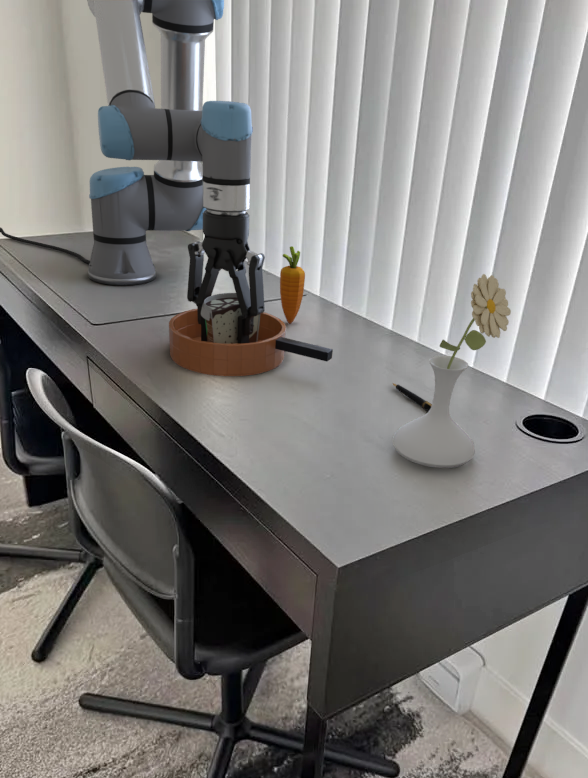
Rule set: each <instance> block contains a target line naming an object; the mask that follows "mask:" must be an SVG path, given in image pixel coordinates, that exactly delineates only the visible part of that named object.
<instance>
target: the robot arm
mask: <svg viewBox="0 0 588 778" xmlns="http://www.w3.org/2000/svg"><path fill="white" fill-rule="evenodd" d="M86 1H87V6H88V8H89V10H90V13H91V14H92V15H93V17H94V18H95V23H96V24H95V25H96V30H97V37H98V38H97V39H98V45H99V51H100V60H101V67H102V73H103V80H104V88H105V94H106V102H107V105H101V106H100V107H99V108H98V109H97V125H98V126H97V127H98V137H99V139H98V140H99V148H100V152H101V153H102V155H103V156H104V157H105V158H108V159H116V160H117V159H118V160H125V161H156V162H155V164H154V166H153V174H145V172H144V171H143V170H144V169H143V168H142V167H139V166H117V167H110V168H105V169H101V170H98V171H95V172H94V173H92V174H91V176H90V177H89V195H88V198H89V199H90V206H91V207H90V209H91V220H92V222H91V223H92V233H93V234H92V235H93V244H92V249H91V254H90V260H89V259H87V258H85V257H83V255H81V254H79V253H77V252H75V251H73V250H69V249H66V248H63V247H59V246H56V245H52V244H47V243H44V242H43V243H42V242H38V241H34V240H30V239H25V238H23V237H18V236H15V235H11V234H9V233H6V231H4V229H3V227H0V234H1V235H2V236H4V237H5V238H7V239H10V240H12V241H13V240H14V241H16V242H21V243H25V244H28V245H32V246H38V247H41V248H44V249H45V248H46V249H49V250H54V251H57V252H62V253H65V254H68V255H71V256H73V257H75V258H77V259H79V260H80V261H82V262H83V263H85V264H88V267H87V268H88V269H87V273H88V278H89V279H90V280H91V281H93V282H95V283H99V284H103V285H110V286H135V285H136V286H137V285H142V284H147V283H150V282H153V281H154V280H155V279H156V277H157V274H156V273H157V272H156V271H157V270H156V266H155V265H154V263H153V259H152V256H151V252H150V250H149V247H148V244H147V243H148V242H147V231H164V232H165V231H166V232H167V231H169V232H170V231H171V232H172V231H173V232H174V231H175V232H177V231H178V232H181V231H182V232H191V231H202V234H203V235H204V237H203V239H202V241H201V242H200V241H199V240H198V241H195V242H191V243H188V244H187V250H188V257H189V264H188V265H189V267H188V281H187V293H186V299H187V301H188V302H192V303H193V304H195V305H196V309H197V314H198V324H201V341H206V342H207V332H206V323H205V319H204V318H203V317H202V316H201V310H202V305H203V303H204V300H205V299H206V298H207V297H209V296H212V295H213V291H214V289H215V285H216V283H217V280H218V277H219V273H220V272H221V270H223V271H225V272H228V276H229V277H230V279H231V280H232V284H233V287H234V290H235V293H236V295H237V298H238V302H239V306H240V309H241V313H242V315H241V316H239V317H238V337H237V344H243V343H249V335H251V334H252V333H253V325H254V316H257V315H259V314H261V313H263V312H265V310H266V309H265V295H264V294H265V291H264V274H263V273H264V272H263V267H264V263H265V260H266V259H265V258H266V256H265V254H264V253H263V252H262V253H261V252H260V253H256V252H254V251H252V250H251V248H250V246H249V243H248V242H249V241H248V239H249V236H250V214H249V213H248V210H250V208H251V207H250V206H251V168H252V167H251V164H252V161H251V160H252V137H253V133H254V132H253V131H254V128H253V124H252V123H253V122H252V121H253V120H252V108H251V107H250V105H249V104H247V103H245V102H239V101H230V100H207V101H205V102H204V78H205V56H206V55H205V51H206V50H205V49H206V39H207V38H208V37H209V36H211V34H212V33H213V32H214V22H215V21H219V20H221V19H222V18H223V16H224V8H225V0H86ZM142 13H143V14H152V15H151V19H152V20H151V22H152V25H153V26H154V28H155V29H156V30H157V32H158V33H159V36H160V108H156V103H155V98H154V92H153V85H152V80H151V73H150V69H149V61H148V55H147V51H146V50H147V49H146V45H145V38H144V33H143V26H142V21H141V14H142ZM204 254H205V255H206V257H207V261H206V264H205V267H204V261H205V256H204ZM246 260H247V263H246V264H247V266H248V279H247V276H246V273H247V269H246V265H245V261H246ZM204 270H205V272H204ZM203 272H204V275H203Z"/></svg>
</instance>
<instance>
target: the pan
mask: <svg viewBox="0 0 588 778" xmlns="http://www.w3.org/2000/svg"><path fill="white" fill-rule="evenodd" d="M286 334H287V325H286V324H285V323H284V321H283V320H281V319H280V318H279V317H277V316H275V315H273V314H271V313H268V312H265V311H264V312H263V313H261V314H260V323H259V332H258V341H257V342H253V343H243V344H224V343H212V342H206V341H201V324H198V314H197V308H192V309H188V310H183V311H182V312H179V313H177V314H175V315H174V316H173V317H171V318H170V320H169V322H168V340H169V341H168V342H169V344H168V346H169V357H170V359H171V360H172V361H173V362H174V363H175V364H177V365H178V366H179V367H181V368H183V369H186V370H187V371H192V372H194V373H197V374H203V375H210V376H216V377H245V376H253V375H260V374H262V373H263V374H264V373H267V372H269V371H272V370H274V369H276V368H278V367H279V366H280V365H282V364H283V362H284V359H285V353H286V351H282V350H278V349H275V345H276V340H277V339H278V338H280V337H284V338H286V336H287V335H286Z"/></svg>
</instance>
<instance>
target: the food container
mask: <svg viewBox="0 0 588 778" xmlns="http://www.w3.org/2000/svg"><path fill="white" fill-rule="evenodd" d="M241 315H242V313H241V309H240V306H239V302H238V298H237V295H236V292H224V293H217V294H212V295H211V296H209V297H207V298H206V299H205V300H204V303H203V305H202V310H201V316H202V317H203V318H204V319H205V323H206V332H207V342H212V343H224V344H237V337H238V317H239V316H241ZM259 323H260V314H259V315H257V316H254V325H253V333H252V334H251V335H249V343H253V342H257V341H258V332H259Z"/></svg>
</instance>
